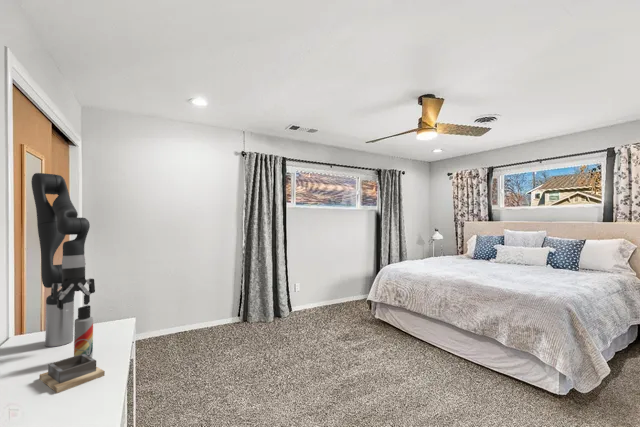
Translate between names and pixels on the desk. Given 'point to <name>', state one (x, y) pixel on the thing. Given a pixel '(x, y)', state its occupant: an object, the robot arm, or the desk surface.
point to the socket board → (71, 372)
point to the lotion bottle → (83, 332)
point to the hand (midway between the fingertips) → (73, 306)
